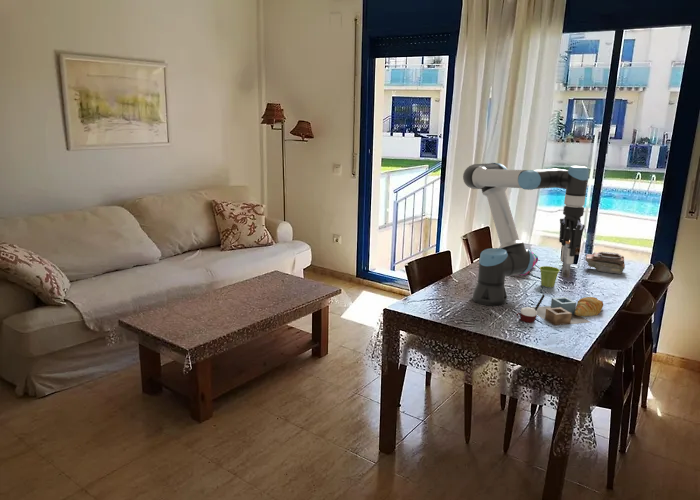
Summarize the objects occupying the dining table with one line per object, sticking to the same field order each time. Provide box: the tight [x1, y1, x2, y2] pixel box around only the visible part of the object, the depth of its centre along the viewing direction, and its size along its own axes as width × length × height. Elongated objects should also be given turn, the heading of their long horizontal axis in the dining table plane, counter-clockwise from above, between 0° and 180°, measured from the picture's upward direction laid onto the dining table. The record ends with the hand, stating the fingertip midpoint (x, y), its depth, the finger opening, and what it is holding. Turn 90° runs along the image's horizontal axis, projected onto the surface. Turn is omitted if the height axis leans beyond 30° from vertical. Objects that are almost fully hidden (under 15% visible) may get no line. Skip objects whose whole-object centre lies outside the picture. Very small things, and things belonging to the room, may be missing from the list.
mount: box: [545, 307, 572, 324], centre depth 217 cm, size 7×7×4 cm
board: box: [531, 305, 591, 327], centre depth 223 cm, size 17×20×1 cm
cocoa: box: [516, 293, 546, 324], centre depth 215 cm, size 10×6×12 cm
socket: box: [550, 296, 577, 314], centre depth 227 cm, size 7×7×5 cm
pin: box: [560, 240, 572, 278], centre depth 217 cm, size 3×3×15 cm
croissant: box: [574, 296, 604, 317], centre depth 228 cm, size 21×10×8 cm, turn 130°
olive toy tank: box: [584, 251, 626, 275], centre depth 286 cm, size 13×20×10 cm, turn 59°
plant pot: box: [539, 265, 561, 288], centre depth 262 cm, size 9×9×9 cm
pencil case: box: [520, 251, 539, 276], centre depth 286 cm, size 22×9×9 cm, turn 152°
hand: (566, 262), depth 217 cm, fingers closed on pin, 3 cm apart
